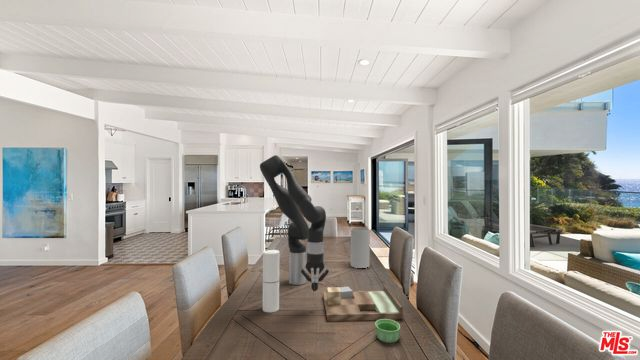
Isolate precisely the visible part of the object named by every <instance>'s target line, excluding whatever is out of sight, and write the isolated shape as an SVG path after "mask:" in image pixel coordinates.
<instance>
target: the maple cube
mask: <svg viewBox="0 0 640 360" xmlns="http://www.w3.org/2000/svg"><path fill="white" fill-rule="evenodd" d="M326 289H327V290H326V291H327V300H328V305H341V290H340V287H339V286H338V287H337V286H333V287H332V286H331V287H330V286H329V287H327V288H326Z"/></svg>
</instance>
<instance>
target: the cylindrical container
mask: <svg viewBox="0 0 640 360" xmlns="http://www.w3.org/2000/svg"><path fill="white" fill-rule="evenodd" d="M279 309H280V250H278V249H269V250H264V251H263V253H262V311H263V312H264V313H274V312H277V311H279Z"/></svg>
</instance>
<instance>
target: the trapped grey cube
mask: <svg viewBox="0 0 640 360" xmlns="http://www.w3.org/2000/svg"><path fill="white" fill-rule="evenodd" d="M339 288H340V290H341V299H353V291H354V290H352V289H351V288H350V287H349V286H341V287H339Z"/></svg>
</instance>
